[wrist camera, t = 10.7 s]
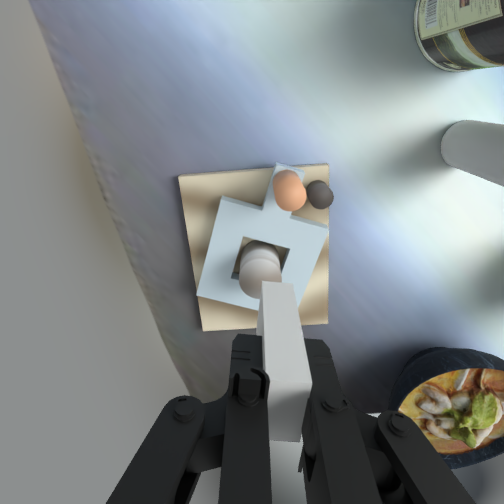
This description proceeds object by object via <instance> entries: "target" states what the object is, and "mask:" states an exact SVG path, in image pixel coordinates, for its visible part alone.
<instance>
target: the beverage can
mask: <svg viewBox="0 0 504 504" xmlns="http://www.w3.org/2000/svg"><path fill="white" fill-rule="evenodd" d="M441 154H442V157H443V159H444V161H445V162H446V163H447V164H448V165H450V166H453V167H455V168H458V169H460V170H463V171H465V172H468V173H470V174H473V175H476V176H478V177H481V178H483V179H486V180H488V181H491V182H494V183H496V184H499V185H501V186H504V125H503V124H495V123H488V122H481V121H474V120H463V121H459V122H457V123H456V124H454V125H453V126H451V127H450V128H449V129H448V130H447V131H446V133H445V134H444V136H443V138H442V142H441Z"/></svg>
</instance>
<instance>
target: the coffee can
mask: <svg viewBox="0 0 504 504" xmlns="http://www.w3.org/2000/svg"><path fill="white" fill-rule="evenodd" d="M414 31H415V36H416V41H417V43H418V45H419V47H420V50H421V51H422V53H423V54H424V56H425V57H426V58H427V59H428V60H429V61H430V62H431V63H432V64H434V65H435V66H437V67H439V68H441V69H443V70H447V71H453V72H462V71H469V70H473V69H482V68H490V67H500V66H504V0H417V2H416V6H415V12H414Z"/></svg>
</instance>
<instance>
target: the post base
mask: <svg viewBox="0 0 504 504" xmlns="http://www.w3.org/2000/svg"><path fill="white" fill-rule="evenodd" d="M292 167H295V168H298V169H302V170H304V172H305V175H304V178H303V181H302V184H303V186H304V188H305V190H306V195H307V196H306V201H305V203H304V205H303V206H302V207H301V208H300V209H298V210H296V211H292V213H291V215H294V216H298V217H301V218H305V219H309V220H312V221H316V222H319V223H323V224H327V226H328V228H329V206H330V205H331V204H332V202H333V198H334V196H333V192H332V191H331V189H330V188H329V165H328V164H327V163H323V164H310V165H297V166H292ZM273 170H274V167H271V168H258V169H245V170H232V171H220V172H207V173H194V174H181V175H180V176H179V177H178V178H179V185H180V191H181V197H182V203H183V209H184V215H185V222H186V228H187V234H188V240H189V246H190V253H191V259H192V265H193V271H194V277H195V283H196V290H198V286H199V282H200V278H201V275H202V271H203V267H204V263H205V259H206V255H207V251H208V247H209V244H210V240H211V236H212V232H213V228H214V224H215V220H216V216H217V213H218V209H219V205H220V201H221V198H222V196H226V197H230V198H233V199H237V200H240V201H244V202H248V203H251V204H255V205H258V206H262V205H263V202H264V199H265V196H266V192H267V189H268V186H269V183H270V179H271V176H272V173H273ZM328 250H329V232H328V234H327V237H326V239H325V242H324V244H323V247H322V249H321V252H320V254H319V257H318V259H317V262H316V264H315V267H314V269H313V272H312V274H311V277H310V279H309V282H308V284H307V287H306V289H305V292H304V295H303V297H302V300H301V302H300V305H299V307H298V312H299V317H300V323H301V325H313V324H328ZM286 251H287V248H285V247H282V246H278V245H274V244H271V243H267V242H263V241H259V240H256V239H252V238H248V237H244V236H243V238H242V241H241V245H240V248H239V252H238V255H237V258H236V262H235V265H234V268H233V272H234V273H237V274H239V285H240V287H241V289H242V291H243V292H244V293H245V294H246V295H248V296H250V297H252V298H255V299H260V295H261V287H262V281H270V282H281V283H282V276H281V269H280V268H281V265H282V262H283V259H284V256H285V254H286ZM198 302H199V308H200V314H201V320H202V327H203V331H214V330H230V329H247V328H257V319H258V311H257V310H253V309H249V308H245V307H241V306H237V305H233V304H229V303H225V302H221V301H217V300H213V299H209V298H205V297H201V296H198Z"/></svg>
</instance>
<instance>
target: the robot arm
mask: <svg viewBox="0 0 504 504" xmlns="http://www.w3.org/2000/svg"><path fill="white" fill-rule="evenodd" d="M301 434H302V437H303V449H302V453H301V457H300V462H299V468H298V472H301V471H302V467H303V474H304V482H305V490H306V499H307V504H476V503H475V502H474V500H473V499H472V498H471V496H470V495H469V494H468V492H467V491H466V490H465V488H464V487H463V486H462V484H461V483H460V482H459V480H458V479H457V478H456V476H455V475H454V474H453V472H452V471H451V470H450V468H449V467H448V465H447V464H446V463H445V461H444V460H443V459H442V457H441V456H440V455H439V453H438V452H437V451H436V449H435V448H434V447H433V445H432V444H431V443H430V441H429V440H428V439H427V437H426V436H425V435H424V433H423V432H422V431H421V429H420V428H419V427H418V425H417V424H416V423H415V422H414V421H413V420H412V419H411V418H409V417H408V416H406V415H405V414H403V413H400V412H397V411H388V410H387V411H385V412H382V413H381V414H380V415H379V416H378V418H377V417H374V416H371V415H368V414H365V413H362V412H360V411H358V410H356V409H355V408H353V406H352V404H351V403H350V401H349V400H348V399H347V398H346V397H345V396H344V395H343V394H342V391H341V387H340V384H339V380H338V377H337V373H336V370H335V367H334V363H333V360H332V356H331V353H330V349H329V347H328V346H327V345H326V344H325V343H324V342H323V340H317V339H305V338H303V333H302V328H301V323H300V317H299V312H298V307H297V302H296V297H295V292H294V287H293V283H281V282H270V281H262V287H261V295H260V303H259V311H258V319H257V335H248V334H238V335H237V336H236V337H235V339H234V340H233V342H232V353H231V364H230V375H229V386H228V390H227V392H226V393H225V395H223V396H222V397H221V398H220V399H218V400H216V401H213V402H209V403H204V404H203V403H202V402H201V401H200V400H199V399H197V398H195V397H193V396H185V395H184V396H179V397H176V398H174V399H172V400H170V401H169V402H168V403H167V404H166V405H165V406H164V408H163V410H162V411H161V413H160V415H159V416H158V418H157V420H156V421H155V423H154V425H153V426H152V428H151V430H150V431H149V433H148V435H147V436H146V438H145V439H144V441H143V443H142V445H141V446H140V448H139V449H138V451H137V453H136V454H135V456H134V458H133V459H132V461H131V463H130V464H129V466H128V468H127V470H126V471H125V473H124V474H123V476H122V478H121V479H120V481H119V483H118V484H117V486H116V487H115V490H114V491H113V492H112V494H111V496H110V497H109V499H108V501H107V502H106V504H189V502H190V500H191V497H192V495H193V492H194V490H195V487H196V485H197V482H198V480H199V477H200V475H201V472H203V471H207V470H210V469H214V468H218V467H221V478H220V488H219V489H220V490H219V500H218V504H272V493H271V470H270V447H269V440H274V441H288V442H300V438H301Z"/></svg>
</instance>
